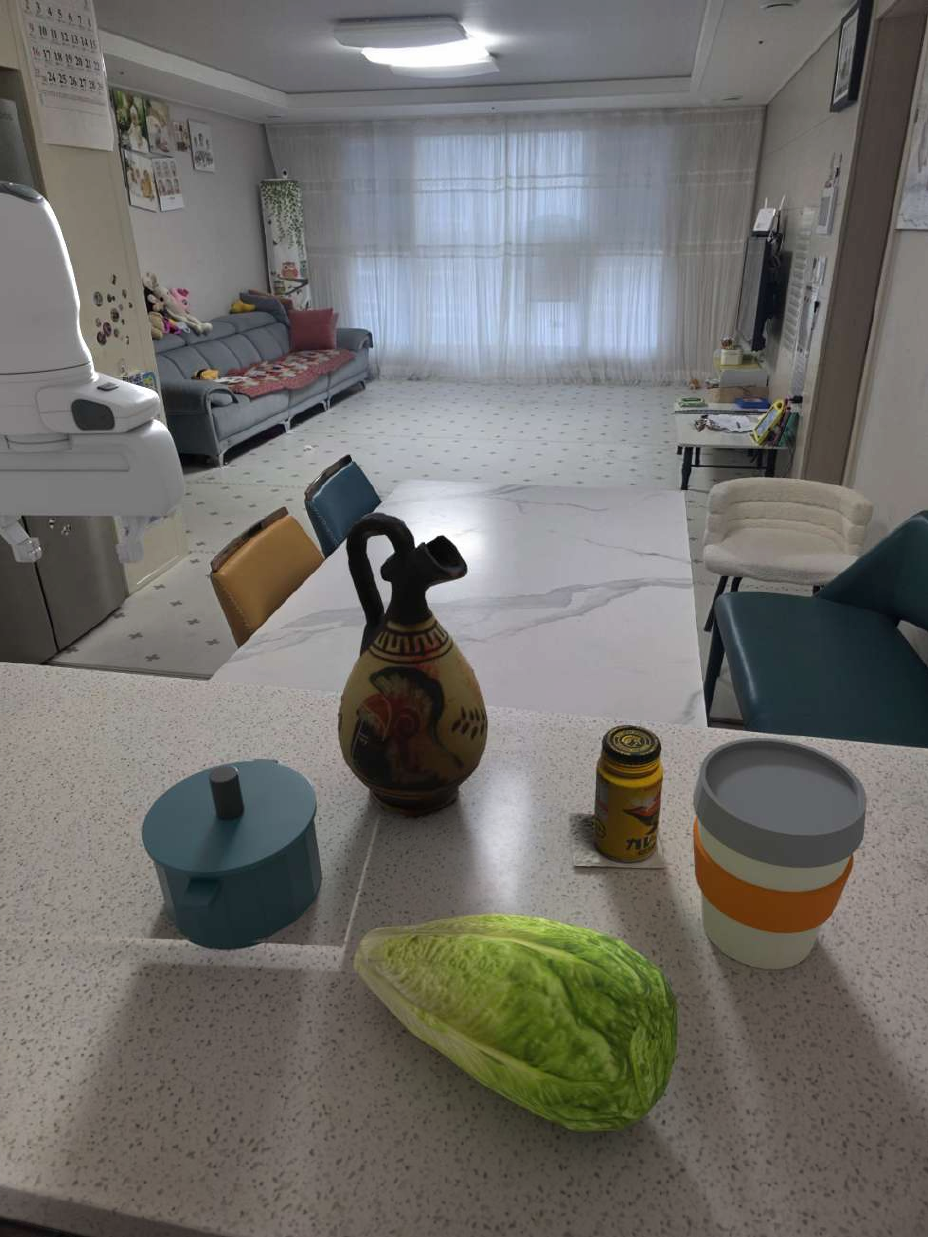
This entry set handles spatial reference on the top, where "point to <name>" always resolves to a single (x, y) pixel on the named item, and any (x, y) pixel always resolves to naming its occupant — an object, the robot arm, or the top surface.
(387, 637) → the ceramic jug
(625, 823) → the condiment
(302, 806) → the pot lid
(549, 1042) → the lettuce
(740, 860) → the reusable coffee cup
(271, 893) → the pot
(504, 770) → the top surface
